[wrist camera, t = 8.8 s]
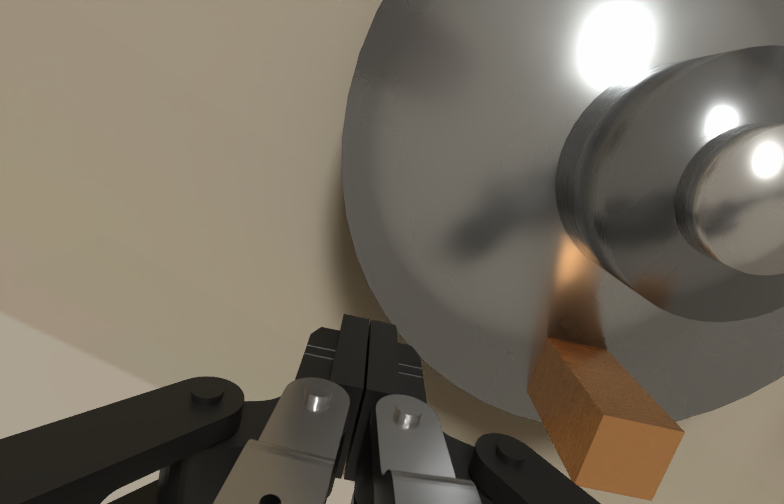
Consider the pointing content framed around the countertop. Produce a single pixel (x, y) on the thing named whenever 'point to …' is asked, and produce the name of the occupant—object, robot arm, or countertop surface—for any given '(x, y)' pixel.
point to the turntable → (534, 220)
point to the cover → (685, 184)
